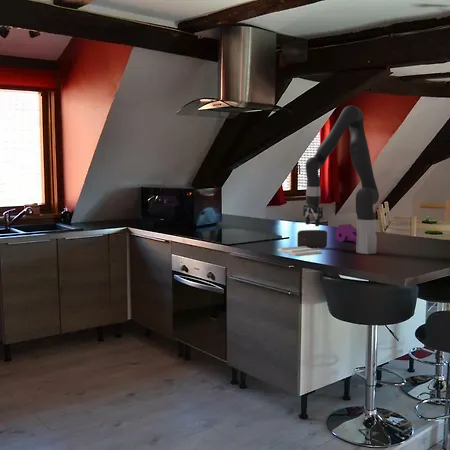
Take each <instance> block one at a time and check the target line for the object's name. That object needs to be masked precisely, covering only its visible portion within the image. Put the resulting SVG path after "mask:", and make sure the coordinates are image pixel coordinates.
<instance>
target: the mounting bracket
mask: <svg viewBox="0 0 450 450" xmlns="http://www.w3.org/2000/svg"><path fill="white" fill-rule="evenodd" d="M337 225H338V226H337V228H336V231H335V235H334V236H335V239H336V241H337V242H339V243H340V242H341V243H343V242H346V241H348V240H350V241H351V242H354V243H355V244H356V242H357V227H355V226H353V225H352V224H351V223H348V224H337Z"/></svg>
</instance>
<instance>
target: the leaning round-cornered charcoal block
mask: <svg viewBox="0 0 450 450" xmlns="http://www.w3.org/2000/svg"><path fill="white" fill-rule="evenodd" d="M296 241H297V245H296V247H299V246H307V248H311V249H314V248H317V249H324V248H327V246H328V231H327V230H324V229H305V230H299V231H298V232H297V240H296Z"/></svg>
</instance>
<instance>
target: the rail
mask: <svg viewBox="0 0 450 450" xmlns="http://www.w3.org/2000/svg"><path fill="white" fill-rule="evenodd" d="M281 248H282V250H287V249H297V248H307V246H299V247H298V246H288V247H281ZM313 250H318V248H311V249H303V250H293V251H292V252H303V251H313Z"/></svg>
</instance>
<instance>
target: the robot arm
mask: <svg viewBox="0 0 450 450" xmlns="http://www.w3.org/2000/svg"><path fill="white" fill-rule="evenodd" d="M347 129H349V133H350V135H349V136H350V143H349V145H350V146H349V152H350V158H351V163H352V166H353V168H354V171H356V173H357V175H358V176H359V180H360V184H361V188H360V189H358V190H357V191H356V195H355V214H356V217H357V218H356V229H357V242H356V243H355V244H356V245H355V246H356V247H355V250H356V251H355V252H356V253H357V254H363V255H371V254H377V242H378V239H377V238H378V237H377V236H378V235H377V234H376V228H377V226H376V225H377V223H376V221H377V213H375V212H374V205H376V204H377V203H378V201H379V198H380V193H379V190H378V186H377V184H376V180H375V175H374V169H373V166H372V162H371V161H372V160H371V156H370V155H371V154H370V149H369V145H368V140H367V138H366V132H365V124H364V114H363V111H362V109H361V108H360V107H357V106H355V105H347V106H345V107H344V108H343V109H342V111H341V113H340V114H339V117H338V118H337V120H336V122H335V123H334V125H333V126H332V128H331V129H330V131H329V133H328V134H327V135H326V137H325V138H324V139H323V141H322V142H321V143H320V144H319V146H318V147H317V149H316V153H314V156H313V157H309V158H308V159H307V160H306V161H305V173H306V191H305V204H304V205H303V210H302V212H303V213H302V216H304V217H305V225H310V224H311V215H313V216H314V218H315V220H314V221H315V222H314V224H315V227H319V226H320V225H321V224H320V222H321V221H320V220H321V219H323V217H324V214H323V213H324V212H323V206H319V205H321V176H319V170H320V169H321V168H323V166H324V165H325V163H326V161H327V160H328V158H329V156H330V155H331V154H332V153H333V151H334V150H335V149H336V147H337V146H338V143H339V142H340V140H341V137H342V136H343V134H344V133H345V131H346V130H347Z"/></svg>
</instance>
